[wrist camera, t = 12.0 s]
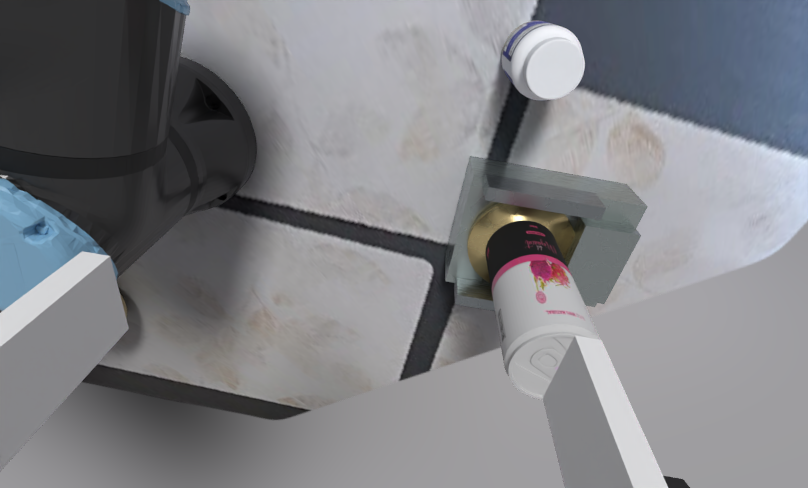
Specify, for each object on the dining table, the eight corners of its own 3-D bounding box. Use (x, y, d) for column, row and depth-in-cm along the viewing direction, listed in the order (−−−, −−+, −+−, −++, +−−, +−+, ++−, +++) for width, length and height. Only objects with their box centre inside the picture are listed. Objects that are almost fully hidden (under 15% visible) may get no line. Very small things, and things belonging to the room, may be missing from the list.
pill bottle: (564, 77, 38) (596, 100, 30) (505, 92, 39) (521, 118, 31) (560, 11, 35) (593, 18, 27) (496, 29, 36) (511, 41, 28)
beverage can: (522, 204, 38) (564, 315, 25) (569, 246, 40) (631, 369, 27) (470, 249, 41) (484, 370, 28) (517, 286, 43) (550, 415, 30)
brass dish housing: (444, 257, 49) (445, 302, 42) (471, 152, 42) (477, 185, 35) (579, 281, 49) (602, 329, 42) (628, 180, 42) (664, 218, 35)
